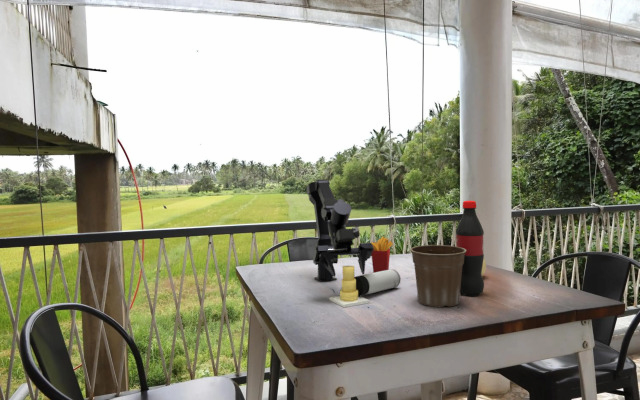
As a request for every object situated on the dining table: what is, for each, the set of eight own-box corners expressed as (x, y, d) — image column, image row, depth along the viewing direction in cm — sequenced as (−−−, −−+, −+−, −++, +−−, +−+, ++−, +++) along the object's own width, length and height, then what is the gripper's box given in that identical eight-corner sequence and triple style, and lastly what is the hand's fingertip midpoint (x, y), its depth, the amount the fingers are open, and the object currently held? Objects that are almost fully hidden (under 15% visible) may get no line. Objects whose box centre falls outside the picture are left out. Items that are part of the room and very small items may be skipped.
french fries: (370, 275, 164) (370, 237, 163) (375, 271, 171) (374, 234, 171) (393, 277, 161) (392, 238, 160) (396, 272, 168) (396, 235, 168)
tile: (329, 300, 131) (329, 297, 131) (354, 296, 135) (354, 293, 135) (343, 307, 123) (343, 304, 123) (369, 302, 127) (369, 300, 127)
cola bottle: (483, 291, 138) (483, 199, 136) (484, 298, 130) (484, 201, 128) (456, 289, 140) (455, 200, 139) (456, 296, 132) (455, 201, 131)
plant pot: (459, 313, 116) (458, 255, 115) (403, 305, 124) (402, 251, 123) (472, 298, 129) (471, 246, 129) (421, 292, 138) (420, 243, 137)
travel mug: (404, 283, 142) (366, 292, 128) (390, 289, 146) (352, 299, 132) (397, 266, 144) (359, 273, 130) (383, 272, 148) (345, 280, 134)
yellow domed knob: (336, 299, 129) (335, 267, 129) (347, 295, 133) (347, 264, 133) (350, 302, 125) (349, 269, 125) (361, 298, 129) (361, 266, 129)
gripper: (314, 220, 130) (323, 261, 120) (371, 217, 135) (384, 257, 124) (309, 241, 139) (318, 282, 128) (363, 238, 143) (375, 278, 132)
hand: (349, 274), depth 128 cm, fingers open, 9 cm apart
